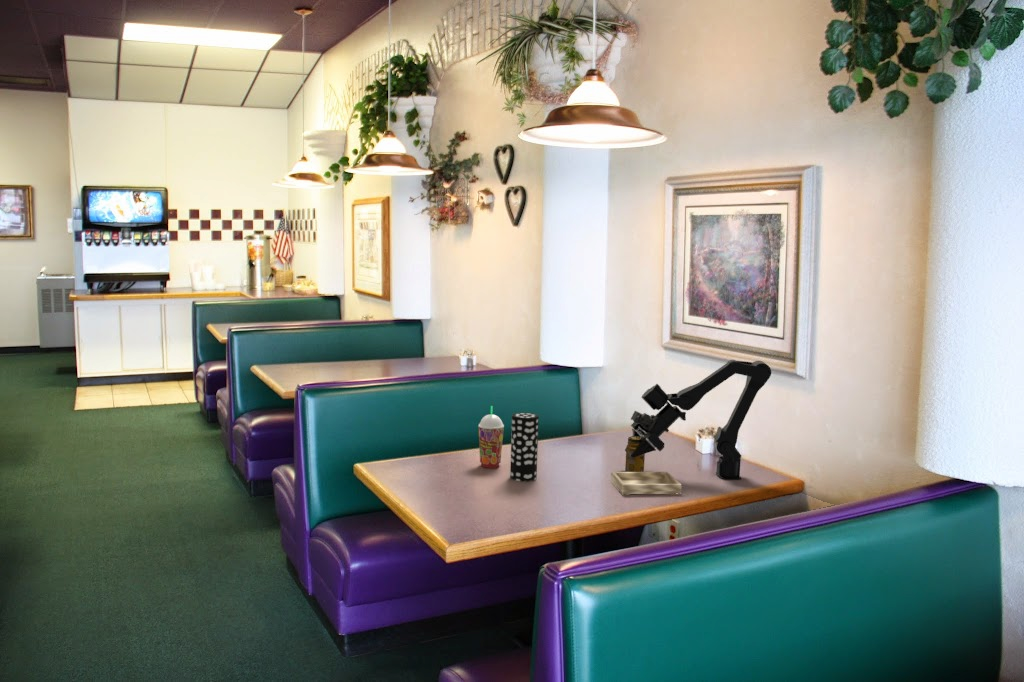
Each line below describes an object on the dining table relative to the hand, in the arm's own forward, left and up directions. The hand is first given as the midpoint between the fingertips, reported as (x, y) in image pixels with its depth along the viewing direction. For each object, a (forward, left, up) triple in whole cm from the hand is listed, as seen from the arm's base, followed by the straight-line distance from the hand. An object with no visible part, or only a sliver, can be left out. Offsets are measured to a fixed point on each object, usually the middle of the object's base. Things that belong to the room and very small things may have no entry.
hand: (628, 454), depth 280 cm
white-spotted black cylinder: (+35, +3, -7) cm, 35 cm away
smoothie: (+44, -11, -7) cm, 45 cm away
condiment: (-1, 0, -7) cm, 7 cm away
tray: (-1, +15, -7) cm, 16 cm away
